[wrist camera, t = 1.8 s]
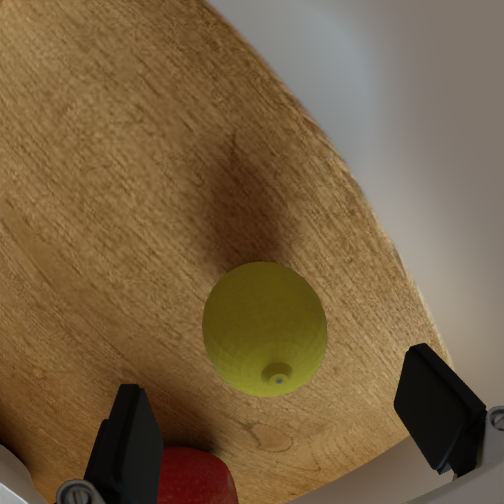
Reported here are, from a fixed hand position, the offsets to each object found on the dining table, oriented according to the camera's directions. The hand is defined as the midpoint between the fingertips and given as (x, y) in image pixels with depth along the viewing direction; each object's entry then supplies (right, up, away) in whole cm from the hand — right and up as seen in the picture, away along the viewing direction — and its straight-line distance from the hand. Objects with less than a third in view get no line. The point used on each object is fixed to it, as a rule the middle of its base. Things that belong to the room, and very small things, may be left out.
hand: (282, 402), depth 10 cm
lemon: (-1, +3, +8) cm, 9 cm away
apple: (-7, -12, +12) cm, 18 cm away
